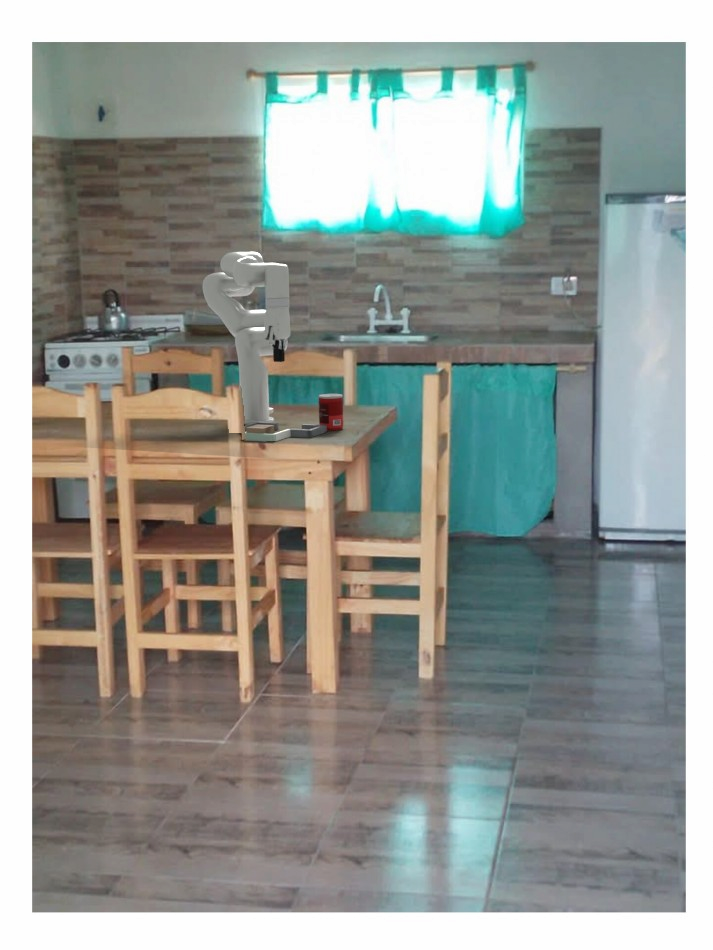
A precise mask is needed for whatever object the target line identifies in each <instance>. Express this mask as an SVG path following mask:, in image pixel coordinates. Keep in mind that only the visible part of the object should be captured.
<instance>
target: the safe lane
mask: <svg viewBox="0 0 713 950" xmlns="http://www.w3.org/2000/svg"><path fill="white" fill-rule="evenodd" d="M291 429H292V428H286V429H284V430H281V431H278V432H274V434H263V433H246V432H245V437H246V440H245V441H247V442H249V441H250V442H251V441H253V442H266V441H275V442H278V441H282V440H284V439H286V438H290V437H292V436H291Z"/></svg>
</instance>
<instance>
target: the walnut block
mask: <svg viewBox="0 0 713 950" xmlns="http://www.w3.org/2000/svg"><path fill="white" fill-rule="evenodd" d="M246 433H263V434H274V433H275V431H274V425H259V424H257V425H253V426H250V427H247V428H246Z"/></svg>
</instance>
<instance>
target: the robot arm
mask: <svg viewBox="0 0 713 950" xmlns="http://www.w3.org/2000/svg"><path fill="white" fill-rule="evenodd" d="M220 269H221V271H219V272H213V273H211V274H208V275H206V276H205V277H204V279H203V282H202V292H203V296H204V300H205V302H206V304H207V305H208V307H209V308H210V309H211V311H213V312H214V313H215V314H216V315H217V317H219V318H220V320H221V321H222V323H223V324H224V325H225V327H226V328H227V330H228V331H229V333H230V334H231V335H232V336H233V337H234V344H235V348H236V354H237V361H238V373H239V374H238V377H239V379H238V380H239V387H240V386H241V388H242V398H243V405H244V416H245V424H244V425H247V424H251V423H254V422H271V423H275V418H274V417H272V416H270V414H273V413H274V408H273V407H270V403H269V402H270V401H269V399H270V397H269V396H270V395H269V372H268V367H267V365H266V364H265V362H264V361H263V359H262V358H261V357H263V356H267V357H268V356H273V357H272V359H273V362H275V363H284V362H285V361H286V360H285V359H286V358H285V352H286V350H287V348H288V344H289V342H288V341H289V339H288V338H290V337H291V334H292V332H291V328H292V327H291V316H290V315H291V314H290V278H289V276H290V275H289V271H290V270H289V266H288V264H284V263H277V262H264V259H263V256H262V255H261V254H260V253H259V252H256V251H233V252H228V253H225V255H223V256H222V258H221V260H220ZM255 288H264V291H265V293H264V294H265V309H246V308H244V307H243V305H242V304H241V302H239V301H238V300H236V299H235V298H233V297H247V296H249V295H251V294H252V293H253V292H254V290H255Z"/></svg>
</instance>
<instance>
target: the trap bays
mask: <svg viewBox="0 0 713 950" xmlns="http://www.w3.org/2000/svg"><path fill="white" fill-rule="evenodd" d="M257 424H259V425H274V432H275V431H278V430H279V422H272V423H271V422H254V423H251V424H244V425H245V431H246V428H247V427H250V426H253V425H257ZM290 429H291V436H290V437H293V438H294V437H297V438H313V437H316V436H320V435H321V434H324V433H327V432H328V431H327V425H319V424H311V423H308V424H307V423H301V428H290Z"/></svg>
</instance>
